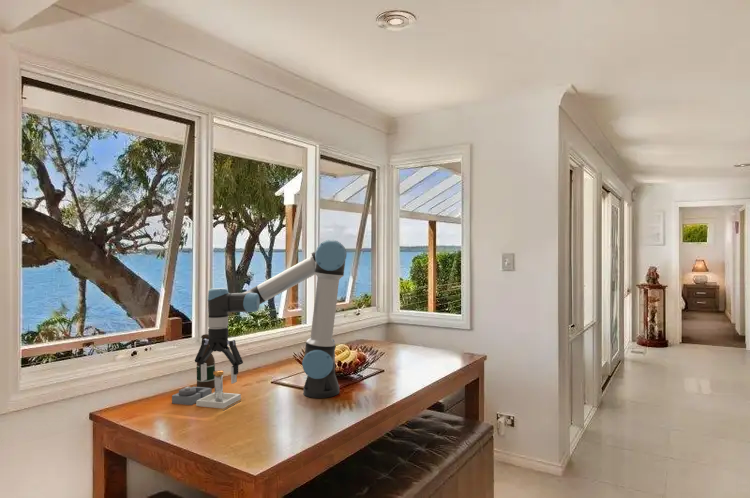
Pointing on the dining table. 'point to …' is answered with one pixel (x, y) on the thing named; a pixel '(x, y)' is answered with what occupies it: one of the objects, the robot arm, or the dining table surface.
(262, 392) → the dining table surface
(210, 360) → the beer bottle
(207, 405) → the tray
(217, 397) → the lock pin
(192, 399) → the block
